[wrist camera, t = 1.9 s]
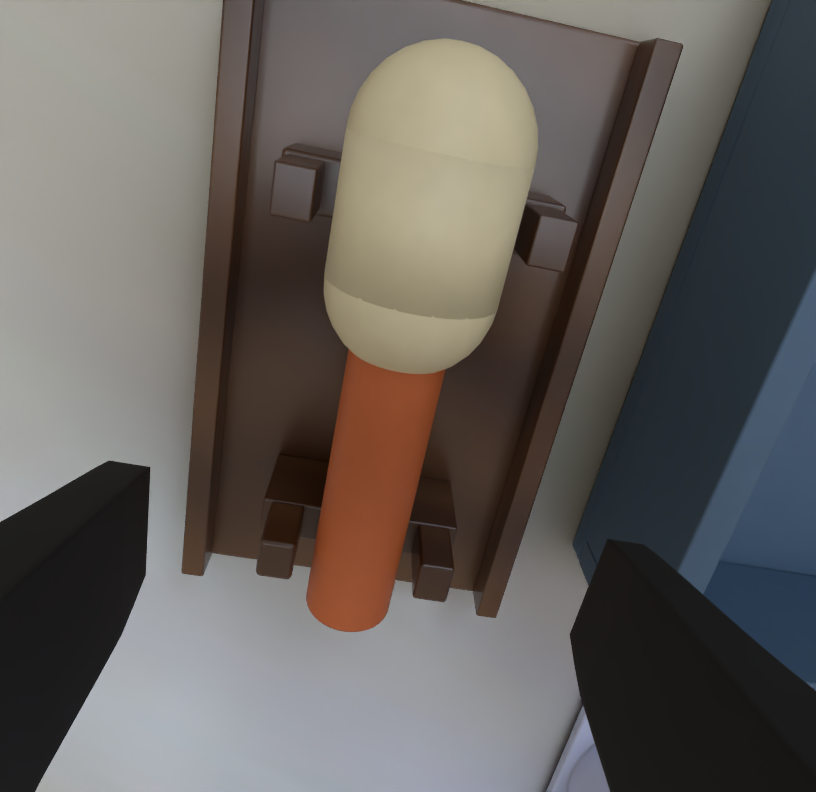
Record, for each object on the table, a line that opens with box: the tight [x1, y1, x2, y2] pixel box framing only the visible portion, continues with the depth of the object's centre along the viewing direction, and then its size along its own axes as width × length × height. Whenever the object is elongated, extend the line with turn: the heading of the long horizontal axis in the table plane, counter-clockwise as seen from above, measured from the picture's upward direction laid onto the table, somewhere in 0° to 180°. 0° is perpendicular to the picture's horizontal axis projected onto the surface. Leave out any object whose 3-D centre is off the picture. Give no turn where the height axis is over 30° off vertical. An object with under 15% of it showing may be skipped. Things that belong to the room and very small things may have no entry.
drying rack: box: [182, 0, 683, 618], centre depth 15 cm, size 15×9×5 cm, turn 169°
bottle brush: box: [306, 38, 538, 632], centre depth 13 cm, size 12×3×3 cm, turn 169°
